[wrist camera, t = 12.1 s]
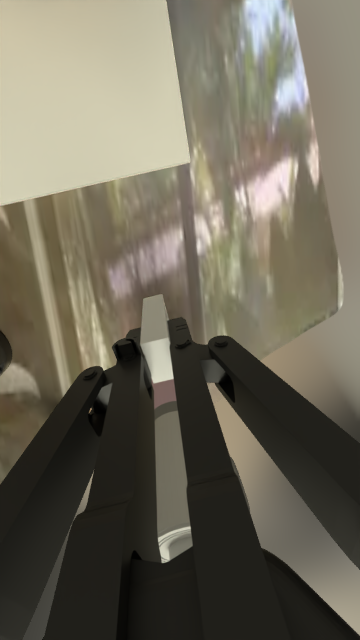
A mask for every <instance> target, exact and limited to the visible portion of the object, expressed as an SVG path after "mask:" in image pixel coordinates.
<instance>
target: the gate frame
mask: <svg viewBox="0 0 360 640" xmlns="http://www.w3.org/2000/svg"><path fill="white" fill-rule="evenodd" d="M186 163H190V155H189V148H188V142H187V135H186V129H185V122H184V115H183V109H182V102H181V95H180V89H179V82H178V76H177V69H176V62H175V56H174V49H173V42H172V36H171V29H170V23H169V16H168V9H167V3H166V0H0V206H3V205H7V204H11V203H16V202H20V201H25V200H29V199H33V198H38V197H42V196H46V195H51V194H55V193H60V192H64V191H68V190H73V189H77V188H81V187H86V186H90V185H95V184H99V183H103V182H108V181H112V180H116V179H121V178H125V177H130V176H134V175H138V174H143V173H147V172H151V171H156V170H160V169H165V168H169V167H173V166H178V165H182V164H186Z"/></svg>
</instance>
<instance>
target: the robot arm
mask: <svg viewBox="0 0 360 640" xmlns="http://www.w3.org/2000/svg"><path fill="white" fill-rule="evenodd" d="M112 349H113V351H114V354H115V356H116V358H117V363H116V365H115V366H113V367H111V368H109V369H107V370H105V371H103V368H102V367H100V366H94V367H90V368H88V369H86V370H84V371H83V372H82V373H81V374H80V375H79V376H78V377H77V379H76V380H75V381H74V383H73V384H72V385H71V387H70V388H69V390H68V391H67V392H66V394H65V395H64V397H63V398H62V399H61V401H60V402H59V404H58V405H57V406H56V408H55V409H54V411H53V412H52V413H51V415H50V416H49V418H48V419H47V420H46V422H45V423H44V424H43V426H42V427H41V429H40V430H39V431H38V433H37V434H36V436H35V437H34V438H33V440H32V441H31V443H30V444H29V445H28V447H27V448H26V450H25V451H24V452H23V454H22V455H21V457H20V458H19V459H18V461H17V462H16V464H15V465H14V466H13V468H12V469H11V470H10V472H9V473H8V475H7V476H6V477H5V479H4V480H3V482H2V483H1V484H0V640H22V639H23V637H24V635H25V632H26V630H27V628H28V626H29V623H30V621H31V619H32V617H33V614H34V612H35V610H36V608H37V605H38V603H39V600H40V598H41V595H42V593H43V591H44V588H45V586H46V583H47V581H48V579H49V576H50V574H51V572H52V569H53V567H54V565H55V562H56V560H57V557H58V555H59V553H60V550H61V548H62V545H63V543H64V540H65V538H66V536H67V533H68V531H69V529H70V526H71V524H72V521H73V519H74V517H75V514H76V512H77V509H78V507H79V505H80V502H81V500H82V498H83V495H84V493H85V490H86V488H87V485H88V483H89V481H90V478H91V476H92V474H93V471H94V474H93V478H92V484H91V488H90V493H89V498H88V503H87V506H86V509H85V510H84V512H82V513H80V514H79V515H77V516H76V518H75V520H74V521H73V524H72V527H71V530H70V533H69V537H68V541H67V545H66V549H65V554H64V558H63V562H62V566H61V570H60V574H59V578H58V583H57V586H56V591H55V595H54V599H53V603H52V607H51V611H50V615H49V619H48V623H47V627H46V632H45V636H44V637H43V639H42V640H360V636H359V635H358V634H357V633H356V632H355V631H354V630H353V629H352V628H351V627H350V626H349V625H348V624H347V623H346V622H345V621H344V620H343V619H342V618H341V617H340V616H339V615H338V614H337V613H336V612H335V611H334V610H333V609H332V608H331V607H330V606H329V605H328V604H327V603H326V602H325V601H324V600H323V599H322V598H321V597H320V596H319V595H318V594H317V593H316V592H315V591H314V590H313V589H312V588H311V587H310V586H309V585H308V584H307V583H306V582H305V581H304V580H302V579H301V577H300V576H299V575H298V574H296V573H295V571H293V570H292V569H291V568H290V567H289V566H288V565H287V564H286V563H285V562H283V561H282V560H281V559H279V558H278V557H277V556H275V555H274V554H272V553H270V552H268V551H267V550H265V549H262V548H261V546H260V543H259V540H258V537H257V534H256V530H255V527H254V524H253V521H252V518H251V515H250V512H249V509H248V506H247V502H246V499H245V496H244V493H243V490H242V487H241V484H240V481H239V479H238V476H237V475H236V473H235V471H234V468H233V465H232V462H231V459H230V456H229V453H228V449H227V446H226V443H225V440H224V437H223V433H222V430H221V427H220V424H219V421H218V418H217V414H216V412H215V408H214V405H213V402H212V399H211V395H210V392H209V389H208V386H207V383H206V382H209V383H215V385H216V387H217V388H218V389H219V391H220V392H221V393H222V395H223V396H224V397H225V398H226V400H227V401H228V402H229V404H230V405H231V406H232V408H233V409H234V410H235V412H236V413H237V414H238V415H239V417H240V418H241V419H242V421H243V422H244V423H245V425H246V426H247V427H248V429H249V430H250V431H251V432H252V434H253V435H254V436H255V438H256V439H257V440H258V441H259V443H260V444H261V445H262V447H263V448H264V449H265V451H266V452H267V453H268V455H269V456H270V457H271V459H272V460H273V461H274V462H275V464H276V465H277V466H278V468H279V469H280V470H281V472H282V473H283V474H284V476H285V477H286V478H287V479H288V481H289V482H290V483H291V485H292V486H293V487H294V489H295V490H296V491H297V493H298V494H299V495H300V496H301V497H302V499H303V500H304V502H305V503H306V504H307V506H308V507H309V508H310V509H311V511H312V512H313V513H314V515H315V516H316V517H317V519H318V520H319V521H320V523H321V524H322V525H323V527H324V528H325V529H326V530H327V532H328V533H329V534H330V536H331V537H332V538H333V539H334V541H335V542H336V543H337V544H338V546H339V547H340V548H341V549H342V550H343V551H344V553H345V554H346V555H347V556H348V558H349V559H350V560H351V561H352V562H353V563H354V564H355V565H356V566H357V567H358V568H359V569H360V443H359V442H357V441H356V440H355V439H354V438H352V437H351V436H350V435H349V434H348V433H347V432H345V431H344V430H343V429H342V428H340V427H339V426H338V425H337V424H336V423H334V422H333V421H332V420H331V419H329V418H328V417H327V416H326V415H325V414H323V413H322V412H321V411H320V410H319V409H317V408H316V407H315V406H314V405H313V404H311V403H310V402H309V401H308V400H306V399H305V398H304V397H303V396H301V395H300V394H299V393H298V392H297V391H295V390H294V389H293V388H292V387H291V386H290V385H288V384H287V383H286V382H285V381H283V380H282V379H281V378H280V377H278V376H277V375H276V374H275V373H274V372H273V371H271V370H270V369H269V368H268V367H266V366H265V365H264V364H263V363H262V362H260V361H259V360H258V359H257V358H256V357H254V356H253V355H252V354H251V353H250V352H248V351H247V350H246V349H245V348H243V347H242V346H241V345H240V344H239V343H237V342H236V341H235V340H234V339H233V338H231V337H229V336H217V337H214V338H212V339H211V340H210V341H209V342H208V345H201V344H197V343H195V342H193V340H192V338H191V335H190V332H189V329H188V325H187V322H186V320H185V319H183V318H182V317H181V318H177V319H173V320H169V318H168V314H167V310H166V306H165V302H164V298H163V294H160V295H155V296H151V297H147V298H143V310H142V325H141V328H137V329H133V330H130V331H129V332H128V334H127V335H126V338H124V339H121V340H119V341H117V342H116V343H115V344H114V345H113V346H112ZM11 360H12V350H11V347H10V344H9V342H8V341H7V339H6V338H5V337H4V335H3V334H2V333H1V332H0V376H1V375H2V374H3V372H4V371H5V370H6V369H7V368H8V367H9V365H10V363H11ZM151 378H152V380H153V383H158V382H162V381H166V380H171V379H174V386H175V393H176V401H177V408H178V416H179V423H180V431H181V438H182V446H183V453H184V461H185V468H186V476H187V487H186V494H187V503H188V511H189V519H190V527H191V536H192V544H193V546H192V547H190V548H189V549H187V550H185V551H184V552H182V553H181V554H179V555H178V556H176V557H175V558H173V559H171V560H170V561H168V562H166V563H162V560H161V554H160V549H159V544H158V532H157V493H156V454H155V415H154V389H153V386H152V382H151ZM90 408H92V410H91V412H90V413H89V410H90Z"/></svg>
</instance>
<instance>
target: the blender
mask: <svg viewBox="0 0 360 640" xmlns="http://www.w3.org/2000/svg"><path fill="white" fill-rule="evenodd" d="M151 382H152V386H153V389H154V415H155V454H156V493H157V532H158V544H159V549H160V554H161V560H162V563H166V562H168V561H170V560H171V559H173V558H175V557H176V556H178V555H179V554H181V553H182V552H184V551H185V550H187V549H189V548H190V547H192V546H193V544H192V536H191V527H190V519H189V511H188V503H187V494H186V487H187V476H186V468H185V461H184V453H183V446H182V438H181V431H180V423H179V416H178V408H177V401H176V393H175V386H174V379H171V380H166V381H162V382H158V383H153V380H152V378H151ZM230 459H231V462H232V465H233V468H234V471H235V473H236V475H237V476H238V479H239V481H240V484H241V487H242V490H243V493H244V496H245V499H246V502H247V506H248V509H249V512H250V508H249V504H248V500H247V497H246V494H245V491H244V487H243V484H242V482H241V479H240V476H239V473H238V471H237V468H236V465H235V463H234V461H233V459H232V458H231V457H230Z"/></svg>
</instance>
